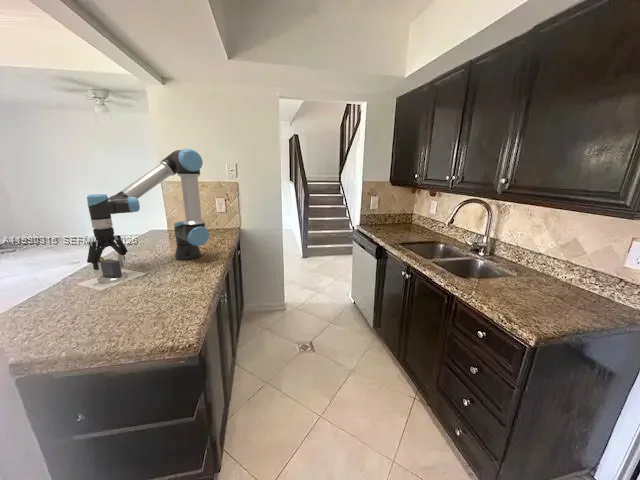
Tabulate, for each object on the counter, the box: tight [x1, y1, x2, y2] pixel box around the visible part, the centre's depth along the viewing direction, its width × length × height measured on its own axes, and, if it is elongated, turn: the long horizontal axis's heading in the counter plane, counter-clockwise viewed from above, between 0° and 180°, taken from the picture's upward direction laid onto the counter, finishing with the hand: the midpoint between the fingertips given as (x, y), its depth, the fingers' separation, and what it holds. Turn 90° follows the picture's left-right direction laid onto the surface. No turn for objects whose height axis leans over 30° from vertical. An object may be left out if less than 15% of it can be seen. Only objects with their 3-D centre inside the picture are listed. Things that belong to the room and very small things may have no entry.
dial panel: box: [76, 268, 147, 291], centre depth 133 cm, size 22×18×2 cm
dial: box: [97, 258, 128, 283], centre depth 132 cm, size 12×12×9 cm
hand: (111, 271), depth 132 cm, fingers open, 11 cm apart
